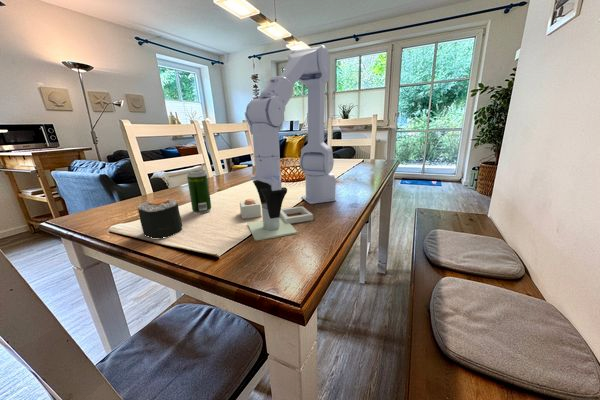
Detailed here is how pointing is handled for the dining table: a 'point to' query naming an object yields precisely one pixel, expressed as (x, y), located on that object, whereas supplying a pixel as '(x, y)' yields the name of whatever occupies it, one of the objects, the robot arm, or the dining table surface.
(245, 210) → the button housing
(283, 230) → the mat
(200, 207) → the beer can
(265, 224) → the cylinder
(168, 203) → the sushi
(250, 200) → the release button
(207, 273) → the dining table surface
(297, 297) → the dining table surface
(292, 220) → the dock
